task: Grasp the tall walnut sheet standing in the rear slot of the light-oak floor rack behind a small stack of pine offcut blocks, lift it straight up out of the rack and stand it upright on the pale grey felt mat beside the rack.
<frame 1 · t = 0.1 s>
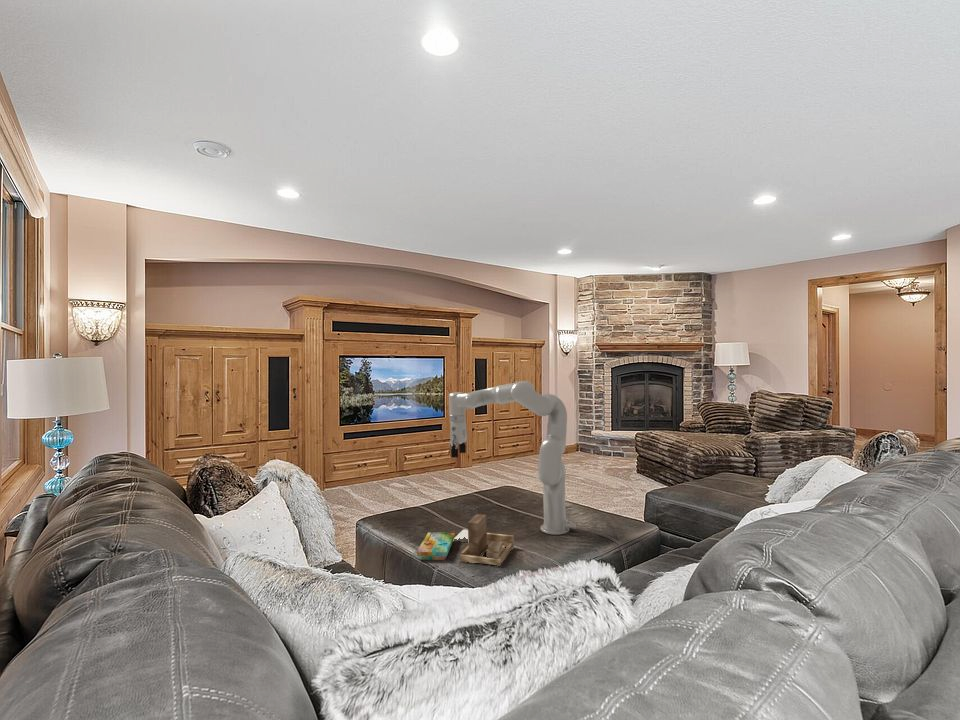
hand: (458, 454, 241), 31 cm above the table, fingers open, 9 cm apart
offcut top: (495, 549, 201), point 3 cm above the table, touching offcut low
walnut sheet: (478, 553, 204), resting in rack
mat: (468, 536, 221), on the table
offcut low: (496, 556, 201), resting in rack, touching offcut top
rack: (487, 554, 203), on the table
puzzle game: (437, 551, 208), on the table
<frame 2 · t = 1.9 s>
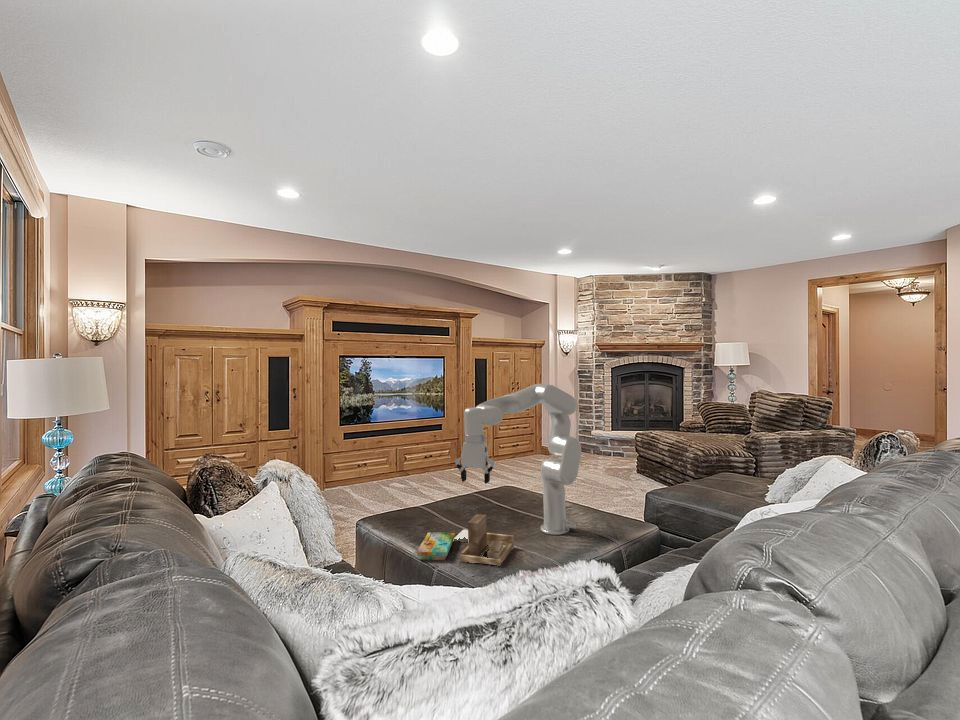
hand: (475, 481, 204), 28 cm above the table, fingers open, 9 cm apart
offcut top: (496, 549, 201), point 3 cm above the table
offcut low: (496, 556, 202), resting in rack
everything else where it was.
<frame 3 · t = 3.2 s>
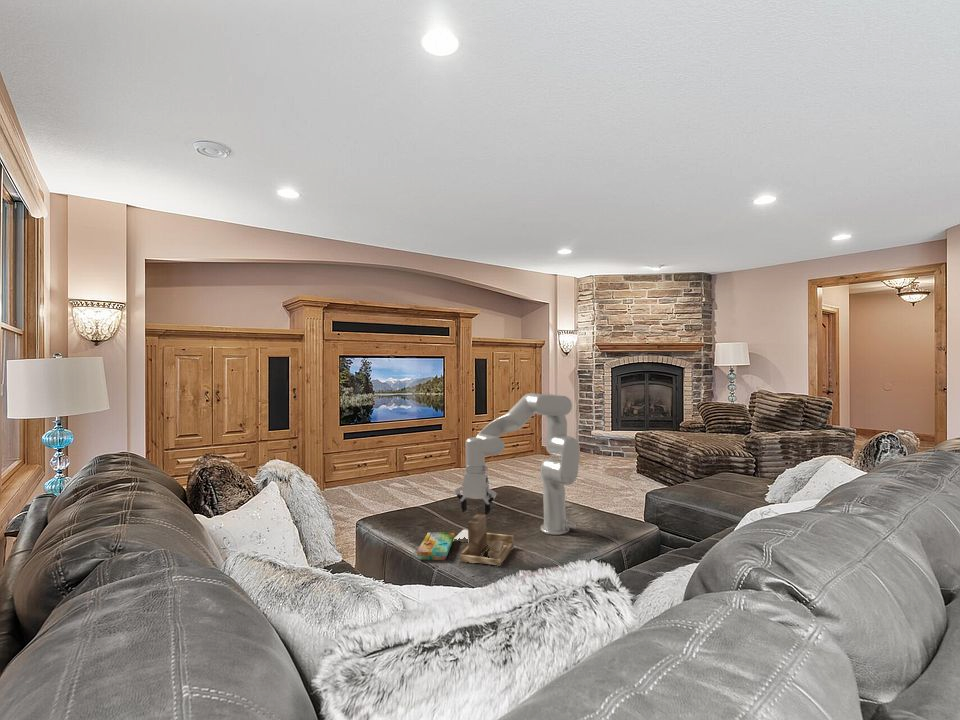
hand: (475, 512, 203), 17 cm above the table, fingers open, 9 cm apart
offcut top: (496, 549, 201), point 3 cm above the table, touching offcut low
offcut low: (497, 556, 202), resting in rack, touching offcut top
everything else where it was.
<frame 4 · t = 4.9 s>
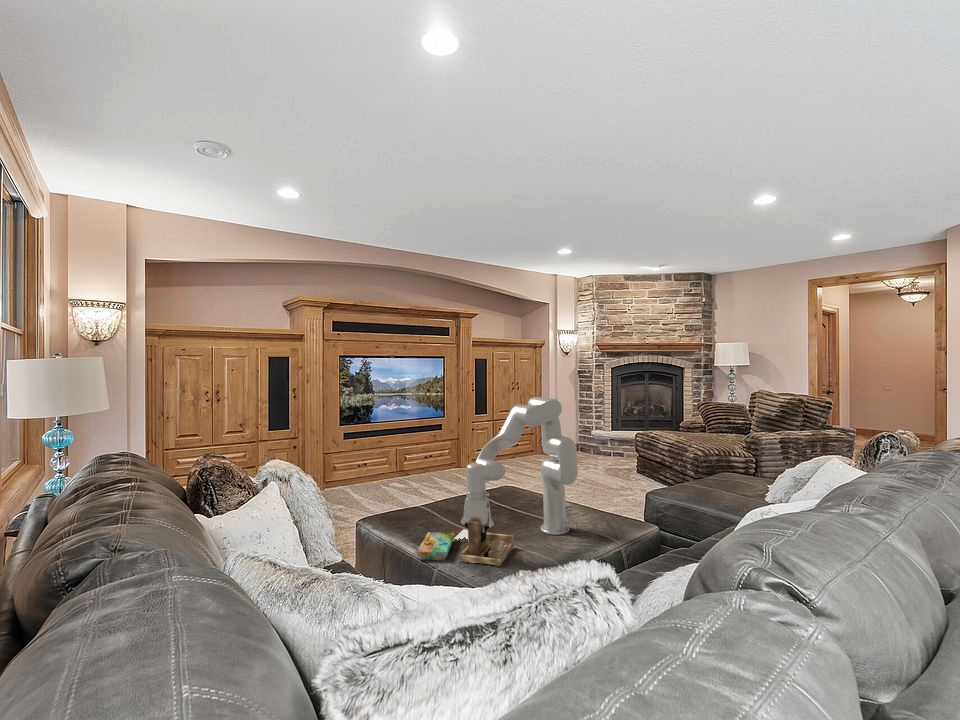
hand: (477, 540, 204), 5 cm above the table, fingers closed on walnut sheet, 4 cm apart
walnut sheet: (478, 553, 204), resting in rack, touching gripper
everything else where it was.
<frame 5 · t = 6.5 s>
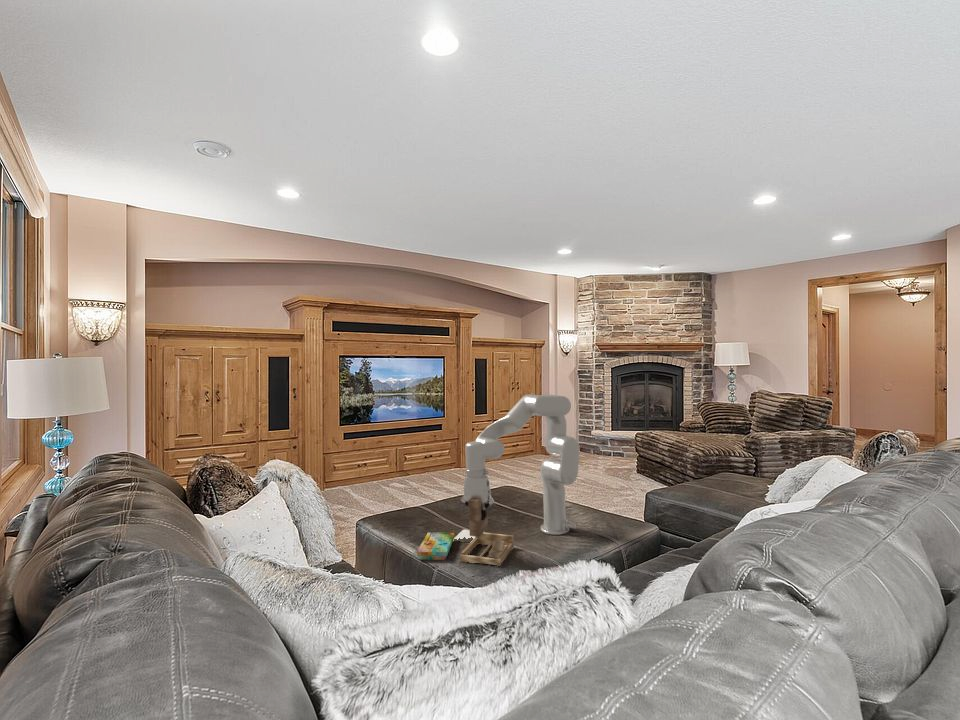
hand: (478, 518, 204), 14 cm above the table, fingers closed on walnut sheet, 4 cm apart
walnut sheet: (478, 531, 204), point 9 cm above the table, touching gripper
everything else where it was.
when the fingers open (7 cm above the table, at t = 14.1 s): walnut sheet stays where it is, resting on mat.
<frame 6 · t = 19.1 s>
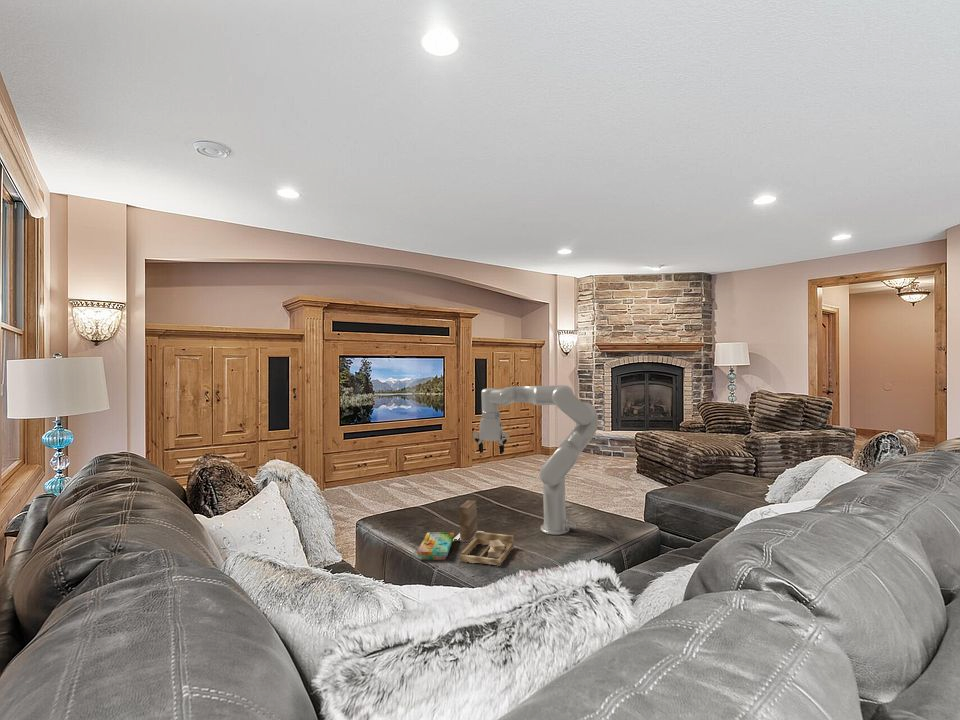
hand: (491, 453, 233), 33 cm above the table, fingers open, 9 cm apart
offcut top: (496, 548, 202), point 3 cm above the table
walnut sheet: (468, 535, 221), resting on mat
offcut low: (496, 555, 202), resting in rack
everything else where it was.
at the end: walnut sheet inside the target area on the mat (0.2 cm from its centre), point 0.4 cm above the mat's base; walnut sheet tilted 0°; the gripper is holding nothing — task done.
